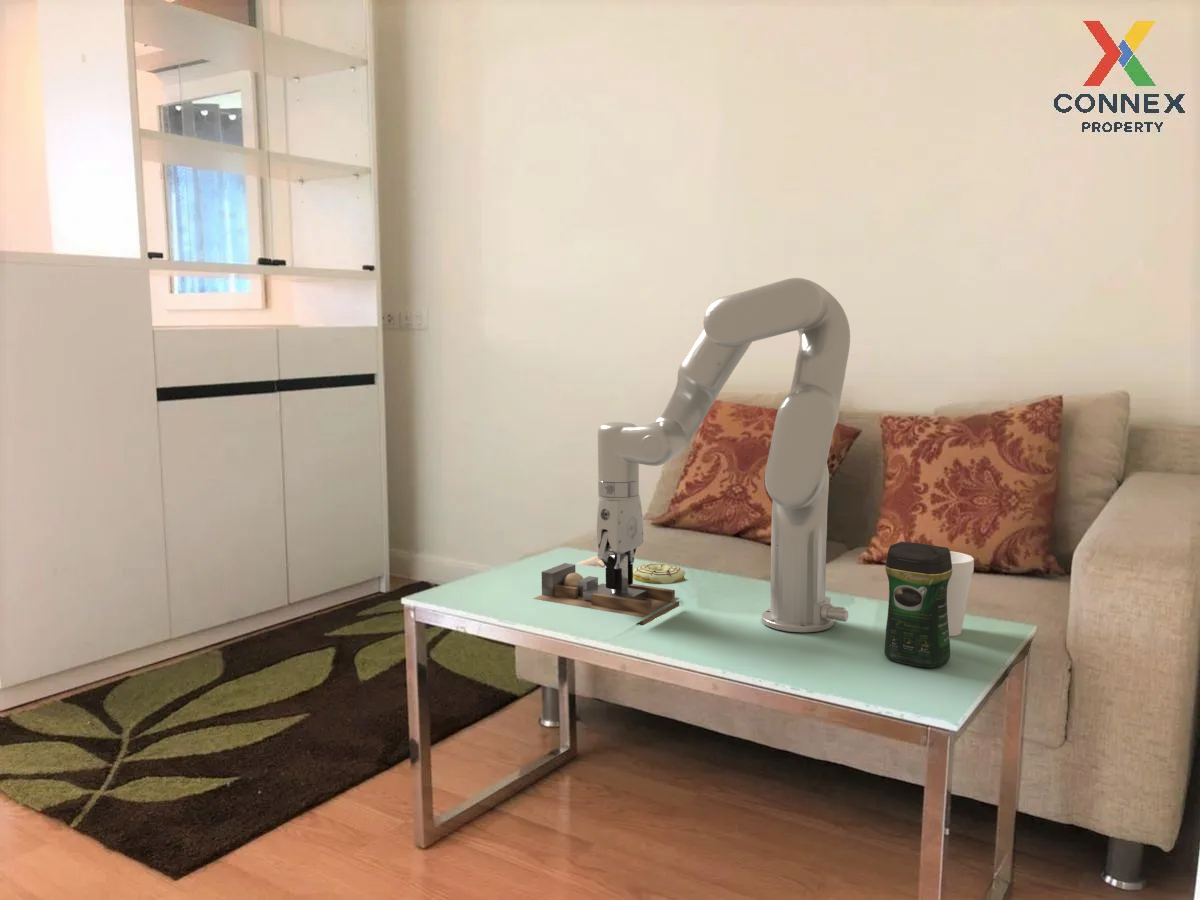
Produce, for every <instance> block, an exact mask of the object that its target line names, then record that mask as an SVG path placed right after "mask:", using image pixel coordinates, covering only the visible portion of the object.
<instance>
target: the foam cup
mask: <svg viewBox="0 0 1200 900" xmlns="http://www.w3.org/2000/svg"><path fill="white" fill-rule="evenodd" d="M950 554H951V562H952V575H951V577H950V579H949V582H948V586H947V615H948V628H949V637H956V636H959V635H961V633H962V630H963V626H964V619H965V614H966V611H967V610H966V609H967V602H968V599H969V592H970V587H971V583H972V582H971V581H972V577H973V576H972V575H973V573H974V570H975V569H974V568H975V558H974V557H973V556H972V555H969V554H966V553H964V552H963V553H962V552H958V551H953V550H952V551H950Z"/></svg>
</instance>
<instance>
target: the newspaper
mask: <svg viewBox="0 0 1200 900" xmlns="http://www.w3.org/2000/svg"><path fill="white" fill-rule="evenodd" d="M576 565H581V566H582V565H583V566H589V567H595V568H605V567H604V563H603V561H602V560H600V559H599V558H598V554H597V555H595V556H592V557H589V558H587V559H584V560H582V561H579V562H577V563H576Z"/></svg>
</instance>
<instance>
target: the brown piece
mask: <svg viewBox="0 0 1200 900" xmlns="http://www.w3.org/2000/svg"><path fill="white" fill-rule="evenodd" d="M570 573H576V564H575V563H574V564H572V563H566V562H564V563H561V564H559V565H556V566H554V567H550V568H548V569H546V570H543V571H541V594H540V595H537V596H536V597H533V598H532V599H533V600H536V601H537V600H539V601H543V602H550V603H556V604H563V605H567V606H574V607H580V608H584V609H591V610H597V611H598V610H599V611H604V612H610V613H614V614H615V613H616V614H622V615H628V616H634V617H639V618H644V619H642V620H641V621H638V622H637V623H636V624H635V625H639V624H640V626H644V625H646V624H648V623H651V622H652V621H654V620H656V619H657V617H658V618H659V617H662V615H665V614H667V613H669V612H670V610H671V611H673V610H674V609H676V608H678V607H680V598H679V597H676V596H675V595H676V594H675V593H676V591H675V589H671V588H670V589H669V588H663V587H658V586H657V587H655V586H649V585H643V584H636V583H633V584H631V585H628V587H629V588H636V589H642V590H647V598H646V599H644V600H637V599H631V598H624V597H618V596H612V595H605V594H599V593H593V594H591V601H590V600H584V599H583V597H580V596H578V588H577V587H571V586H564V579H565V577H566V576H567V575H568V574H570ZM677 600H679V601H677ZM675 601H676V602H675ZM673 602H675V603H673ZM672 603H673V604H672ZM668 605H669V606H668ZM665 606H667V607H665ZM663 607H665V608H663ZM662 608H663V609H662ZM660 609H661V610H660ZM672 609H673V610H672ZM658 610H659V611H658ZM656 611H658V612H656ZM654 612H656V613H654ZM652 613H653V614H652ZM650 614H652V615H650ZM648 615H650V616H648ZM647 616H648V617H647ZM645 617H646V618H645ZM655 618H656V619H655Z"/></svg>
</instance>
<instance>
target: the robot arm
mask: <svg viewBox="0 0 1200 900" xmlns="http://www.w3.org/2000/svg"><path fill="white" fill-rule="evenodd" d="M702 321H703V322H702V323H703V328H702V330H701V332H700V333H699V335H698V336H697V338H696V340H694V343H693V344H692V346H691V347H690V349H689V350H688V352H687V354H686V355H685V357H684V358H683V360H682V361H681V363H680V364H679V368H678V371H677V382H676V384H675V389H674V390H673V392H672V395H671V397H670V399H668V402H667V404H666V405H665V406H664V408H663V410H662V411H661V412H660V414H659V416H658V417H657V419H656V421H655V422H652V423H650V424H645V425H637V426H636V425H635V424H634V423H631V422H619V421H618V422H616V421H615V422H614V421H613V422H606V423H602V424H601V425H599V427H598V431H597V479H598V480H597V485H598V489H597V490H598V491H597V493H598V494H597V495H598V496H597V497H598V504H597V505H598V506H597V515H596V547H597V550H598V552H597V555H598V558H599V559H600V560H602V561H603V563H604V567H603V568H605V584H606V588H609V589H616V590H620V589H622V568H619V567H620V554H622V553H624V554H627V555H628V585H631V584H634V578H633V570H634V563H635V553H636V552H637V550H638V549H637V548H640V547H641V546H642V544H643V543H644V523H643V521H644V520H643V519H644V517H643V509H642V508H643V507H642V501H641V497H640V484H639V483H640V481H639V479H640V478H639V477H640V476H639V475H640V474H639V473H640V472H639V471H640V470H639V469H640V467H639V465H645V466H651V467H655V466H656V467H658V466H662V465H664V464H666V463H668V462H670V461H671V460H673V459H675V458H677V457H678V456H679V455H680V454H682V452H683V451H684V450H685V449H686V447H688V445H689V443H690V442H691V440H692V439H693V437H694V436H695V434H696V433H697V431H698V429H699V428H700V426H701V424H702V423H703V422H704V419H705V418H706V416H707V415H708V413H709V412H710V409H711V408H712V406H713V404H714V403H715V402H716V400H717V398H718V397H719V395H720V392H721V391H722V389H723V387H724V386H725V384H726V383H727V382H728V380H729V378H730V377H731V375H732V374H733V372H734V370H735V369H736V367H737V366H738V364H739V363H740V361H741V360H742V358H743V357H744V356H745V353H746V352H747V351H748V349H749V348H750V346H751V345H752V343H753V342H758V341H760V340H765V339H769V338H772V337H776V336H779V335H782V334H784V335H785V334H786V333H791V332H796V331H797V332H798V335H799V346H798V350H797V353H796V354H797V355H796V361H795V367H794V372H793V376H792V377H793V378H792V382H791V386H790V390H789V392H788V394H787V395H786V396H784V398H783V399H782V401H781V402H780V404H779V407H778V409H777V413H776V416H775V420H774V424H773V431H772V436H771V441H770V445H769V446H770V447H769V450H768V455H767V462H766V467H765V473H764V485H765V489H766V491H767V493H768V495H769V497H770V498H771V499H772V507H771V536H770V608H768V609H766V610H764V611H763V612H762V613H761V622H762V623H763V624H764V625H765V626H767V627H769V628H772V629H774V630H779V631H784V632H791V633H814V632H821V631H825V630H828V629H830V628H832V627H833V626H834V624H835V621H839V622H845V623H846V622H847V621H848V619H849V610H846V607H843V606H834V605H833V604H832V603H831V597H829V596H826V583H827V582H826V576H827V575H826V573H827V571H826V569H827V536H828V534H827V533H828V532H827V531H828V505H829V503H828V502H829V489H830V488H829V486H830V470H829V467H828V459H829V454H830V453H829V452H830V450H831V445H832V444H831V443H832V440H833V435H834V431H835V428H836V426H837V424H838V421H839V419H840V417H839V416H840V405H841V399H842V398H841V397H842V394H843V393H842V392H843V387H844V382H845V379H846V378H845V377H846V371H847V366H848V361H849V354H850V346H851V330H850V324H849V320H848V317H847V314H846V312H845V310H844V308H843V306H842V305H841V303H840V302H839V301H838V299H836V298H835V296H834V295H832V293H831V292H829V291H828V290H827V289H825V288H824V287H823V286H821V285H820V284H818V283H817V282H814V281H812V280H809V279H805V278H801V277H792V278H787V279H783V280H780V281H776V282H772V283H769V284H764V285H761V286H759V287H755V288H752V289H747V290H744V291H741V292H737V293H732V294H730V295H725V296H722V297H718V298H717V299H715V300H714V301H713V302H712V303H711V304H709V306H708V307H707V309H706V311H705V313H704V316H703V320H702ZM611 555H615V558H613V557H612V556H611Z"/></svg>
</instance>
